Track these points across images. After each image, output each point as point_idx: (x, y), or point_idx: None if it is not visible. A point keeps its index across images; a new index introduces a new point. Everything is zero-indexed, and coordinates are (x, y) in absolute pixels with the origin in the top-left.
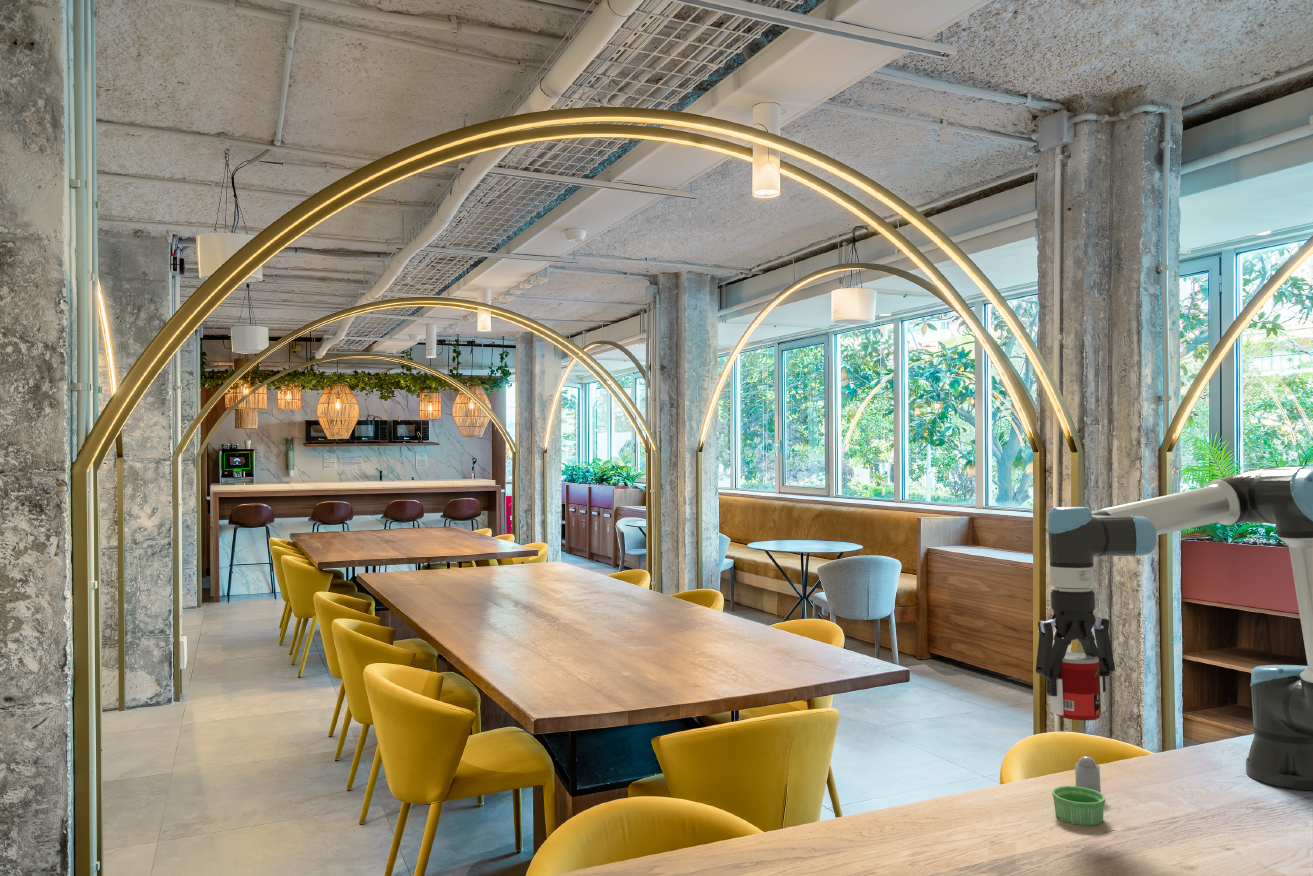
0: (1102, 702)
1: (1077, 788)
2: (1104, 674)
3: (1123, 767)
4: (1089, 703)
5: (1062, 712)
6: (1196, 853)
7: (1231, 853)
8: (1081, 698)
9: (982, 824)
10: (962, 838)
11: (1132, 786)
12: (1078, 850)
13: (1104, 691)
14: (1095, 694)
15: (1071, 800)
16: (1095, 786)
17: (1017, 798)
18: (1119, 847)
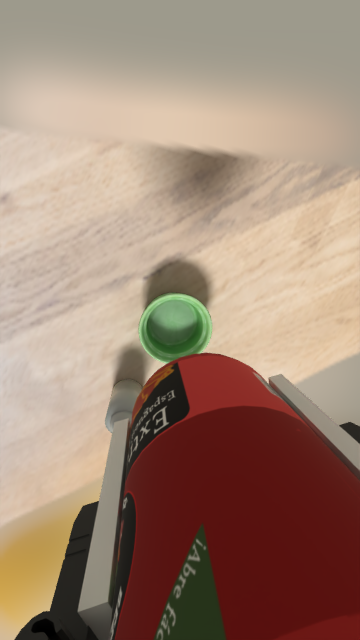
0: (113, 447)
1: (163, 359)
2: (58, 635)
3: (35, 493)
4: (208, 381)
5: (276, 382)
6: (62, 184)
7: (5, 179)
8: (252, 392)
9: (299, 299)
10: (342, 256)
11: (51, 429)
12: (224, 208)
13: (84, 509)
14: (181, 418)
15: (172, 349)
16: (121, 390)
17: None
18: (165, 215)
